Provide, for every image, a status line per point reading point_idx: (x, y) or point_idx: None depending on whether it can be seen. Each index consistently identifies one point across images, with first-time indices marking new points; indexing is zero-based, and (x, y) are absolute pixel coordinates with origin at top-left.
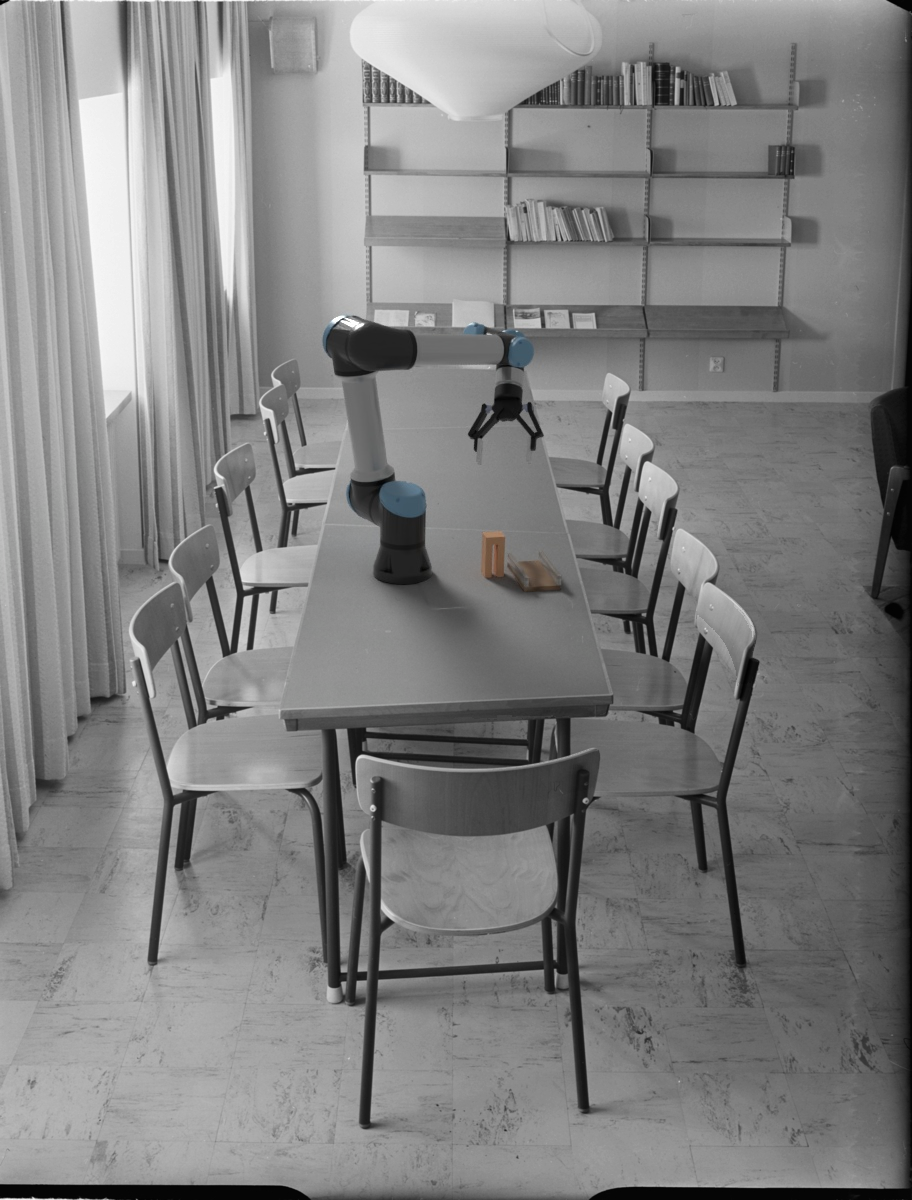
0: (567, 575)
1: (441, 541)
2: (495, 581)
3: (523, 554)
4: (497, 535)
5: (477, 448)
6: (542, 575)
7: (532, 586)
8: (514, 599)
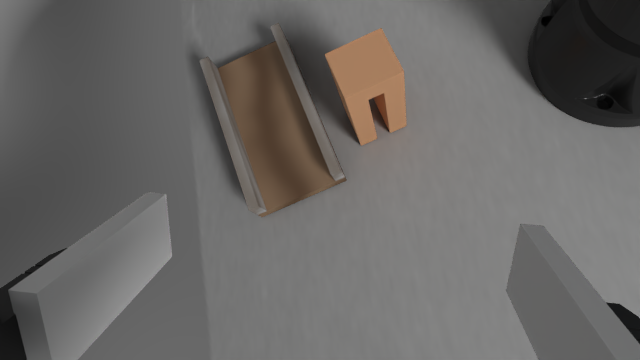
0: (201, 167)
1: None
2: None
3: (316, 289)
4: (349, 57)
5: (587, 285)
6: (251, 114)
7: (268, 46)
8: (305, 4)
